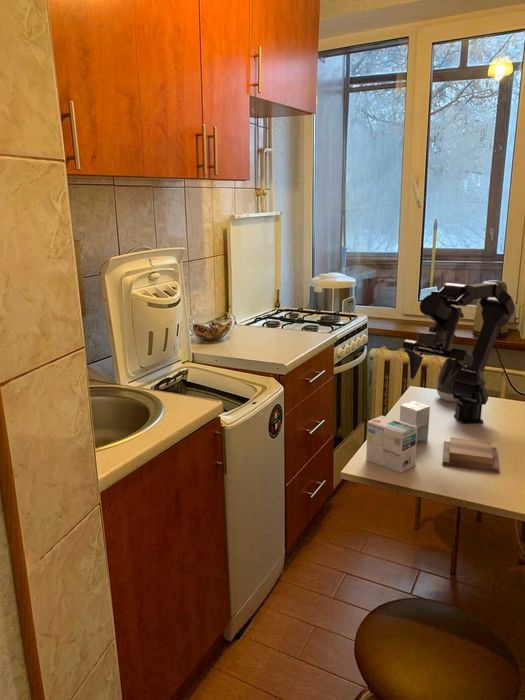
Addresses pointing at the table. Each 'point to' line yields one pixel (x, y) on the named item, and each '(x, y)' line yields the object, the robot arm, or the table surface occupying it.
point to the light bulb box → (391, 443)
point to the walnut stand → (470, 455)
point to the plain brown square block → (416, 418)
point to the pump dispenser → (447, 389)
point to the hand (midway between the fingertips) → (426, 382)
